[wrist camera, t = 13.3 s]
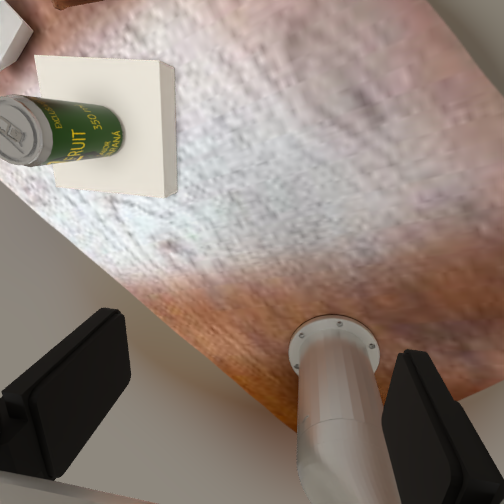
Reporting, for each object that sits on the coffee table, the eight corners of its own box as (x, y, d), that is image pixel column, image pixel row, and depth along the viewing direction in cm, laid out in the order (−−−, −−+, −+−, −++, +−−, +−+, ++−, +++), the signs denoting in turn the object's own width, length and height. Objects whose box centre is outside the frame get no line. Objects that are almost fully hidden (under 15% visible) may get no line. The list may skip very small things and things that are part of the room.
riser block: (177, 192, 40) (164, 198, 37) (78, 182, 42) (56, 187, 38) (174, 68, 35) (159, 60, 31) (61, 62, 37) (34, 55, 33)
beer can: (74, 136, 36) (-30, 139, 25) (93, 94, 34) (-11, 76, 23) (113, 166, 36) (29, 182, 25) (134, 126, 34) (53, 124, 23)
